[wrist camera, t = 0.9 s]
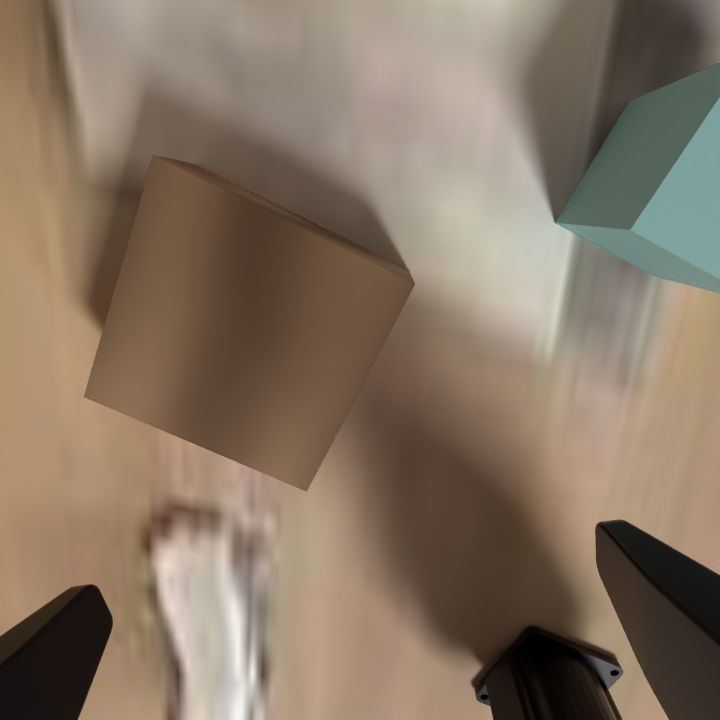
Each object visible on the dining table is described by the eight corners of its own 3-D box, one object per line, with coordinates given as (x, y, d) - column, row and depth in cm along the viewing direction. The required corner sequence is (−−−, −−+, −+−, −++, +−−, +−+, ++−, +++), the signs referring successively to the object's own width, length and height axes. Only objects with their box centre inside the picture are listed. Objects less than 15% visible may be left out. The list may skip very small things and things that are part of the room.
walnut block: (408, 269, 20) (415, 283, 16) (318, 444, 23) (306, 491, 19) (198, 165, 19) (153, 155, 15) (134, 363, 22) (83, 396, 18)
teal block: (733, 162, 18) (900, 142, 12) (652, 275, 19) (766, 305, 14) (628, 100, 17) (752, 48, 11) (554, 222, 19) (630, 230, 13)
